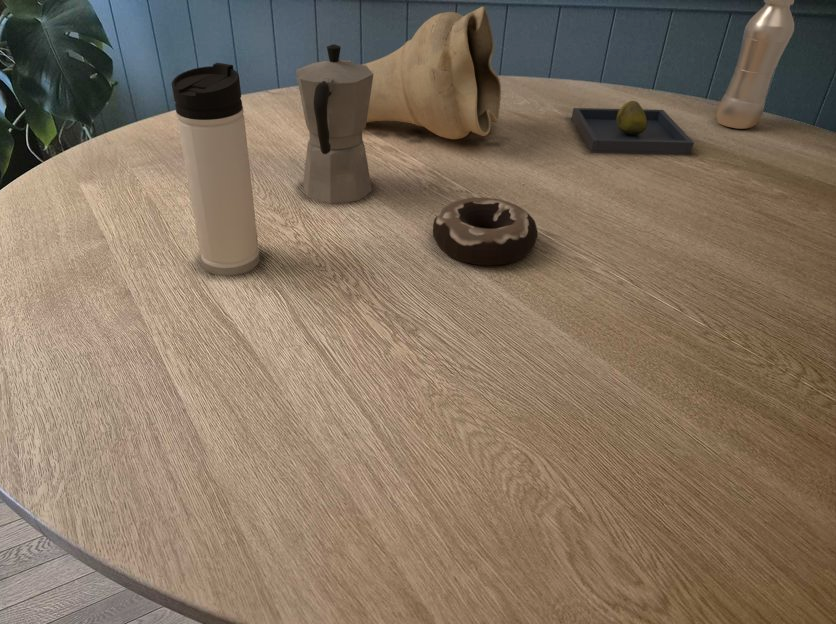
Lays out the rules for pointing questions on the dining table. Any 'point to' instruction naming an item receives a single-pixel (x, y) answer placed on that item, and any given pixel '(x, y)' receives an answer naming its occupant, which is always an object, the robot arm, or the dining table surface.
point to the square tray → (608, 138)
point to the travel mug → (217, 167)
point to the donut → (485, 231)
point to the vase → (440, 78)
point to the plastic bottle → (756, 64)
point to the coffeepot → (335, 128)
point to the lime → (631, 118)
